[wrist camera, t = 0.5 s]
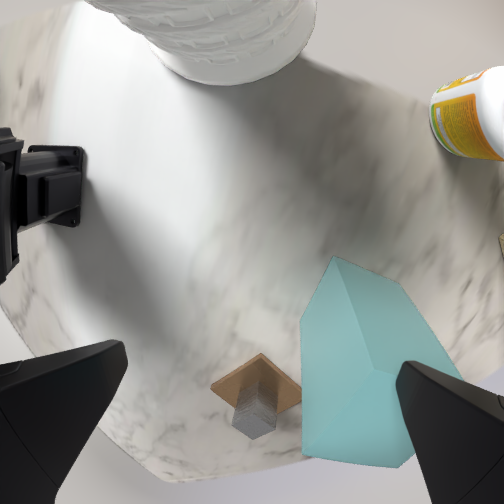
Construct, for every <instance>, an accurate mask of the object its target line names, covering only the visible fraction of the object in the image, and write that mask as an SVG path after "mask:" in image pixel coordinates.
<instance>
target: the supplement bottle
mask: <svg viewBox="0 0 504 504" xmlns="http://www.w3.org/2000/svg"><path fill="white" fill-rule="evenodd" d="M429 118H430V124H431V127H432V130H433V132H434V134H435V136H436V138H437V140H438V141H439V142H440V144H441V145H442V146H443V147H444V148H445V149H447V150H448V151H449V152H451V153H453V154H455V155H457V156H461V157H469V158H479V159H489V160H497V161H504V66H499V67H493V68H490V69H487V70H484V71H481V72H478V73H475V74H472V75H469V76H467V77H463V78H461V79H458V80H456V81H452V82H450V83H447V84H445V85H443V86H441V87H440V88H438V89H437V90H436V92H435V93H434V94H433V96H432V98H431V101H430V106H429Z"/></svg>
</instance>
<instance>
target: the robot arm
mask: <svg viewBox="0 0 504 504" xmlns="http://www.w3.org/2000/svg"><path fill="white" fill-rule="evenodd" d="M23 145H24V140H19V139H16V137H14V136H13V135H12V132H11V129H10V128H7V127H3V128H0V285H1V284H3V283H4V282H5V281H6V276H7V275H8V274H9V272H10V271H11V270H12V269H13V268H14V267H15V266H16V265H17V264H18V263H19V254H18V245H17V233H20V232H22V231H24V230H27V229H29V228H32V227H34V226H37V225H39V224H42V223H44V222H50V223H54V224H59V225H64V226H68V227H76V226H78V225H79V223H80V195H81V173H82V160H83V149H82V148H81V147H80V146H57V145H31V146H30V147H29V148H28V153H23V154H21V151H22V149H23ZM32 150H33V152H32ZM76 151H78V154H77V155H76ZM73 219H74V220H75V223H74V222H73ZM127 366H128V360H127V355H126V351H125V346H124V343H123V342H122V341H118V340H107V341H104V342H100V343H96V344H92V345H88V346H84V347H79V348H75V349H71V350H67V351H63V352H58V353H54V354H50V355H45V356H41V357H36V358H32V359H27V360H24V361H22V360H21V361H17V362H11V363H6V364H1V365H0V504H55V498H56V495H57V492H58V490H59V488H60V487H61V485H62V483H63V481H64V480H65V478H66V476H67V474H68V473H69V471H70V469H71V467H72V466H73V464H74V462H75V461H76V459H77V457H78V456H79V454H80V452H81V450H82V449H83V447H84V446H85V444H86V442H87V440H88V439H89V437H90V435H91V434H92V432H93V430H94V429H95V427H96V426H97V424H98V422H99V421H100V419H101V417H102V416H103V414H104V413H105V411H106V409H107V408H108V406H109V404H110V403H111V401H112V399H113V398H114V396H115V394H116V391H117V389H118V387H119V385H120V383H121V380H122V378H123V376H124V374H125V372H126V370H127ZM395 386H396V391H397V395H398V399H399V403H400V407H401V412H402V416H403V419H404V422H405V425H406V428H407V431H408V433H409V436H410V439H411V442H412V444H413V447H414V450H415V453H416V455H417V459H418V462H419V464H420V467H421V470H422V473H423V476H424V480H425V483H426V486H427V489H428V492H429V495H430V498H431V502H432V504H504V397H503V396H500V395H496V394H494V393H492V392H489V391H487V390H484V389H482V388H480V387H477V386H475V385H472V384H470V383H467V382H465V381H463V380H460V379H458V378H455V377H453V376H451V375H448V374H446V373H444V372H441V371H439V370H436V369H434V368H432V367H429V366H427V365H425V364H422V363H420V362H418V361H415V360H409V361H404V362H403V363H402V366H401V368H400V371H399V374H398V376H397V379H396V384H395Z"/></svg>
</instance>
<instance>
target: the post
mask: <svg viewBox="0 0 504 504" xmlns="http://www.w3.org/2000/svg"><path fill="white" fill-rule="evenodd" d="M210 389H211V390H212V391H213V392H214V393H216V394H217V395H218V396H220V397H221V398H222V399H223V400H225V401H226V402H227V403H229V404H230V405H231V406H233V407H234V408H235V412H234V417H233V421H232V426H233V427H235V428H236V429H238V430H239V431H241V432H242V433H243V434H245V435H246V436H248V437H249V438H251V439H252V440H253V439H256V438H258V437H260V436H262V435H265V434H267V433H269V432H271V431H273V430H275V428H276V417H277V414H278V413H280V412H282V411H284V410H286V409H288V408H290V407H291V406H293V405H295V404H297V403H299V402H301V401H302V388H301V387H300V386H298V385H297V384H296V383H295V382H294V381H293V380H291V379H290V378H289V377H288V376H287V375H286V374H284V373H283V372H282V371H281V370H280V369H279V368H278V367H276V366H275V365H274V364H273V363H272V362H271V361H270V360H268V359H267V358H266V357H265V356H264V355H263V354H262V353H260V354H259V355H257V356H256V357H254V358H253V359H251V360H250V361H248V362H247V363H245V364H244V365H242V366H241V367H239V368H238V369H236V370H234V371H233V372H231V373H230V374H228V375H227V376H225V377H223V378H222V379H220V380H219V381H217V382H215V383H214V384H212V385H211V388H210Z"/></svg>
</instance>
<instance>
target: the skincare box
mask: <svg viewBox="0 0 504 504" xmlns="http://www.w3.org/2000/svg"><path fill="white" fill-rule="evenodd" d="M499 240H500V244H501V248H502V252H503V256H504V233H503V234H502V235H501V236H500V237H499Z"/></svg>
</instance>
